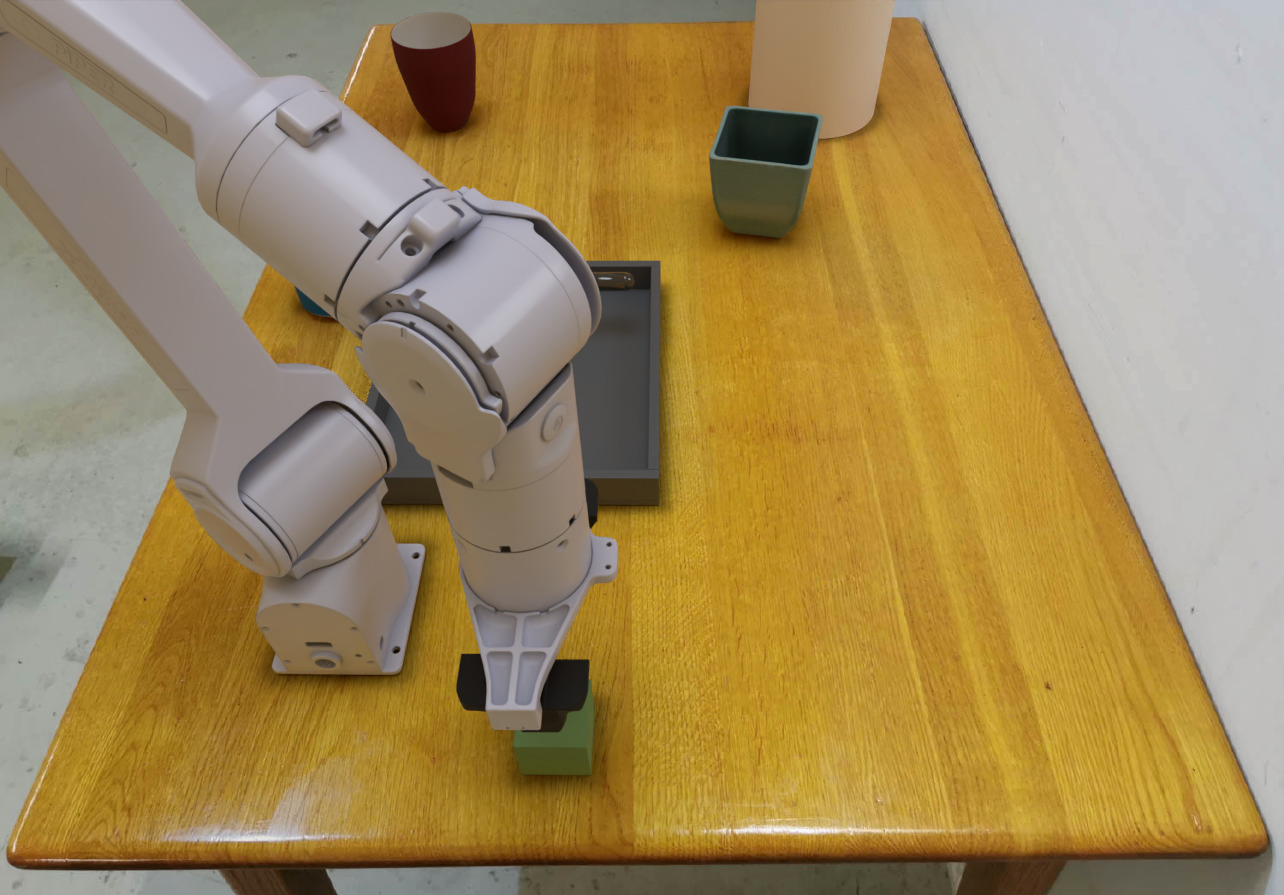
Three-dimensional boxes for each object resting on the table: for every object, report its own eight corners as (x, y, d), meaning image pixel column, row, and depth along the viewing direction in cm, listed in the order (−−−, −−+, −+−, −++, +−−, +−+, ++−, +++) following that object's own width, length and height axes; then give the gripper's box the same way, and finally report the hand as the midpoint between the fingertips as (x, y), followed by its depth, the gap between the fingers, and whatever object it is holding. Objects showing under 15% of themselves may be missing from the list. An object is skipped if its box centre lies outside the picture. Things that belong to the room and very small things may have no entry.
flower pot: (703, 243, 84) (707, 156, 77) (721, 189, 89) (726, 103, 83) (799, 256, 82) (812, 168, 76) (811, 200, 88) (824, 114, 81)
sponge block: (591, 775, 52) (586, 747, 49) (521, 774, 52) (512, 746, 49) (594, 709, 55) (590, 678, 52) (527, 708, 55) (520, 678, 52)
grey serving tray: (659, 505, 65) (659, 478, 62) (355, 504, 65) (343, 477, 63) (660, 288, 80) (660, 260, 77) (414, 289, 80) (406, 260, 78)
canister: (883, 138, 95) (926, -70, 80) (753, 139, 95) (771, -68, 80) (863, 73, 104) (898, -126, 88) (744, 75, 104) (758, -123, 89)
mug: (421, 92, 103) (402, 1, 95) (493, 92, 102) (480, 0, 95) (404, 143, 96) (382, 50, 88) (481, 143, 95) (465, 49, 88)
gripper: (606, 657, 32) (620, 795, 43) (618, 369, 42) (627, 539, 52) (409, 656, 33) (470, 794, 43) (465, 369, 42) (504, 539, 52)
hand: (547, 654), depth 48 cm, fingers open, 7 cm apart
